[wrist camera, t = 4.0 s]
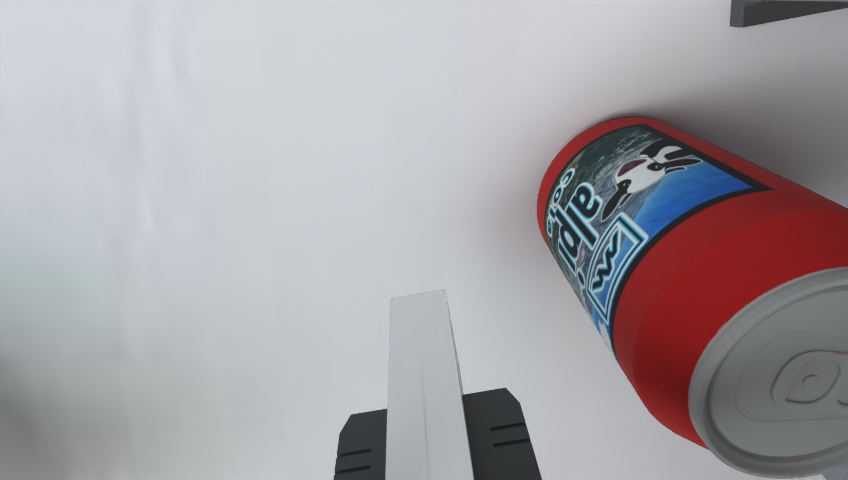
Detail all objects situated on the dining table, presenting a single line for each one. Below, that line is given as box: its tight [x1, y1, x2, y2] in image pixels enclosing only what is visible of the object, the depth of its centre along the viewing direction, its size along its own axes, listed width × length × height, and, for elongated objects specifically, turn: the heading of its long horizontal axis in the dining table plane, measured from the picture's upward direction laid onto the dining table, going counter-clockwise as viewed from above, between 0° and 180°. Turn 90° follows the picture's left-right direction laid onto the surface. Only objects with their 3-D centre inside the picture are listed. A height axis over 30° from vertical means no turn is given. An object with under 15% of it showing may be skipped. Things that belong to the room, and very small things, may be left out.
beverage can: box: [537, 117, 848, 479], centre depth 17 cm, size 7×7×12 cm
